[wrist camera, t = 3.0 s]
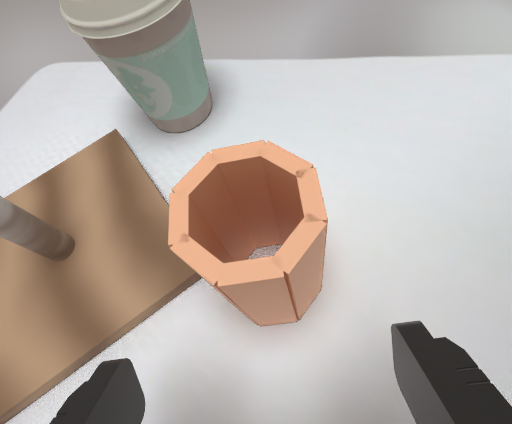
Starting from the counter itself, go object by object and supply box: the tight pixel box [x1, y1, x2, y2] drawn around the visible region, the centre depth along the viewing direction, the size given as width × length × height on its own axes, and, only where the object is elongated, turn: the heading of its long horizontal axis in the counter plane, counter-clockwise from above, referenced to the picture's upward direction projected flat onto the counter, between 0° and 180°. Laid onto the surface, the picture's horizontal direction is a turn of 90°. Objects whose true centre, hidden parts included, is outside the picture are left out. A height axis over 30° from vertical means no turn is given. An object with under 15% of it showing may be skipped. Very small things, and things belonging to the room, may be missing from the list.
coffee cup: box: [59, 0, 212, 133], centre depth 24 cm, size 9×8×12 cm
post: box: [0, 129, 202, 424], centre depth 19 cm, size 16×16×12 cm
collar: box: [168, 140, 328, 326], centre depth 17 cm, size 6×6×10 cm
